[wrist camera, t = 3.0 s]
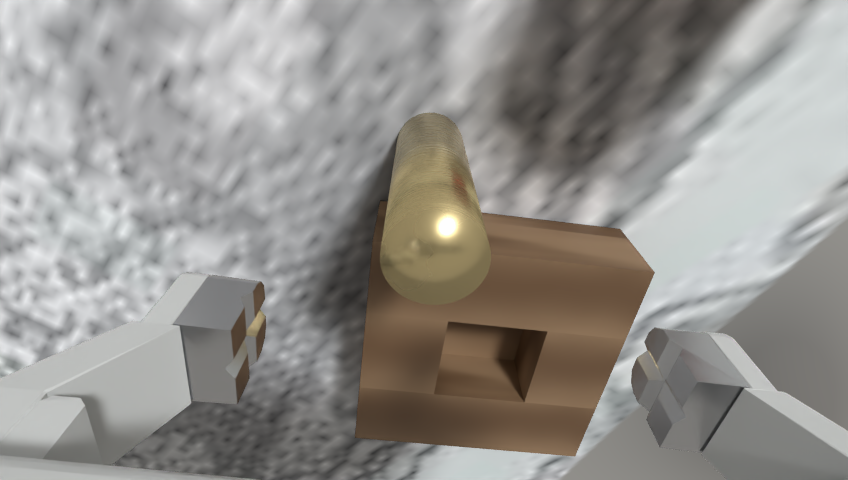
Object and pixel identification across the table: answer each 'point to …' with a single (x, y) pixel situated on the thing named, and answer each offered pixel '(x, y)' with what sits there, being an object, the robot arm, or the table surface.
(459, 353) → the socket block
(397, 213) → the pin
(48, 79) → the table surface
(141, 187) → the table surface
